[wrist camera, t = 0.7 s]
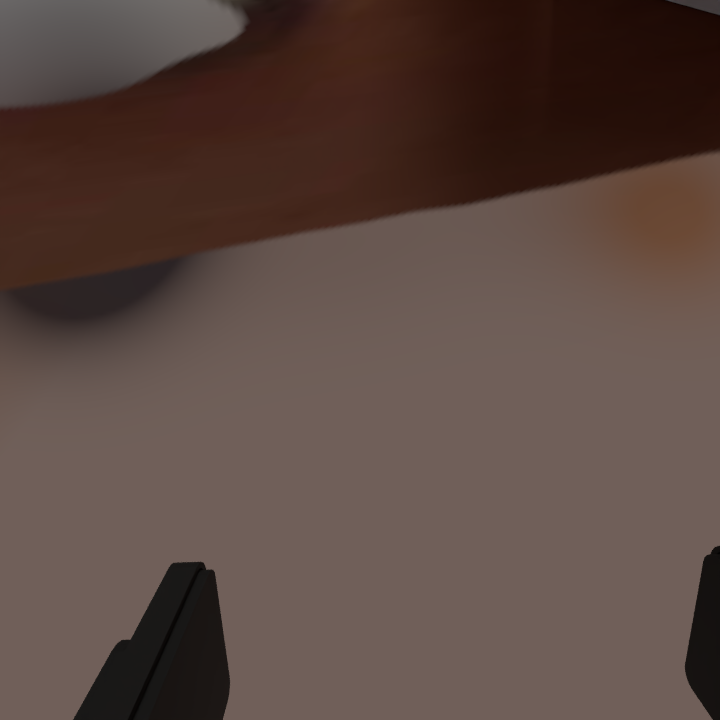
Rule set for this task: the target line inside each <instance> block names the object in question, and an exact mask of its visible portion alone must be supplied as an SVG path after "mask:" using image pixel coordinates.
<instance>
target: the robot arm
mask: <svg viewBox="0 0 720 720" xmlns="http://www.w3.org/2000/svg"><path fill="white" fill-rule="evenodd" d="M685 672H686V676H687V679H688V682H689V685H690V686H691V688H692V690H693V691H694V693H695V694H696V695H697V697H698V699H699V700H700V701H701V703H702V704H703V706H704V707H705V709H706V710H707V712H708V713H709V715H710V716H711V718H712V719H713V720H720V546H717V547H715V548H714V549H713V550H712V552H711V554H710V555H707V556H706V557H705V558H704V561H703V566H702V573H701V578H700V584H699V589H698V595H697V600H696V606H695V612H694V618H693V623H692V629H691V634H690V640H689V645H688V651H687V657H686V662H685ZM229 688H230V678H229V670H228V662H227V655H226V649H225V642H224V635H223V627H222V620H221V614H220V607H219V599H218V591H217V584H216V578H215V572H214V571H213V570H206V568H205V565H204V563H203V562H187V563H186V562H183V563H173V564H171V566H170V567H169V569H168V571H167V572H166V574H165V576H164V578H163V580H162V582H161V584H160V585H159V587H158V589H157V591H156V593H155V595H154V597H153V599H152V601H151V602H150V604H149V606H148V608H147V610H146V612H145V614H144V616H143V617H142V619H141V621H140V623H139V625H138V627H137V629H136V631H135V633H134V635H133V636H132V638H131V640H121V641H120V642H119V643H117V645H116V646H115V647H114V649H113V650H112V651H111V653H110V655H109V657H108V659H107V661H106V663H105V664H104V666H103V667H102V669H101V671H100V673H99V675H98V677H97V678H96V680H95V682H94V684H93V685H92V687H91V689H90V691H89V692H88V694H87V696H86V698H85V700H84V701H83V703H82V705H81V707H80V709H79V710H78V712H77V714H76V716H75V717H74V719H73V720H223V716H224V713H225V709H226V705H227V701H228V697H229Z"/></svg>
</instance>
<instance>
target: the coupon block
mask: <svg viewBox="0 0 720 720" xmlns="http://www.w3.org/2000/svg"><path fill="white" fill-rule="evenodd" d="M667 1H671V2H674V3H678V4H681V5H685V6H689V7H692V8H696V9H699V10H703V11H707V12H710V13H714V14H717V15H720V0H667Z"/></svg>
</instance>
